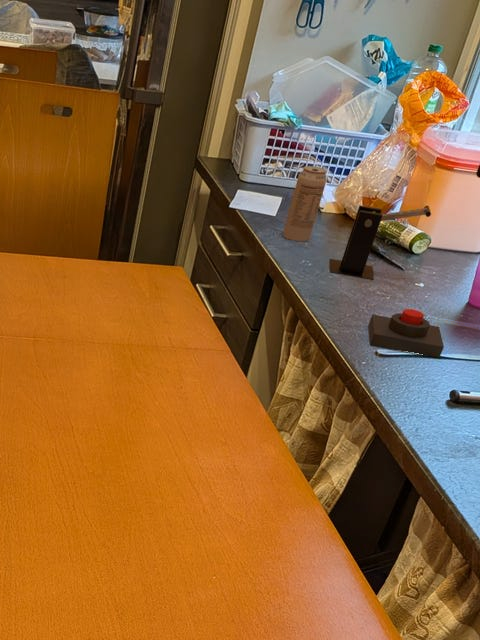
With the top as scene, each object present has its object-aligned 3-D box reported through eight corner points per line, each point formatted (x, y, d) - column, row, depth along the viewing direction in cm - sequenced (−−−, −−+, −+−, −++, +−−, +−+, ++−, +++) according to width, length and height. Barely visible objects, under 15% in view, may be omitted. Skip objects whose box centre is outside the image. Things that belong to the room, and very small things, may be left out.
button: (419, 320, 167) (423, 311, 166) (421, 327, 164) (425, 318, 163) (399, 317, 167) (402, 307, 166) (400, 324, 165) (404, 314, 163)
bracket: (370, 271, 197) (392, 208, 189) (372, 285, 191) (394, 220, 182) (328, 264, 199) (347, 200, 190) (327, 277, 192) (348, 212, 184)
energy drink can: (307, 239, 211) (328, 168, 201) (308, 247, 207) (329, 174, 197) (281, 235, 212) (300, 163, 202) (281, 243, 207) (301, 170, 198)
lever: (428, 213, 186) (429, 201, 185) (430, 220, 183) (431, 207, 181) (360, 223, 191) (360, 211, 189) (360, 230, 187) (360, 217, 186)
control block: (434, 338, 171) (443, 316, 168) (439, 358, 163) (448, 336, 161) (368, 325, 173) (375, 304, 170) (369, 345, 165) (377, 323, 162)
